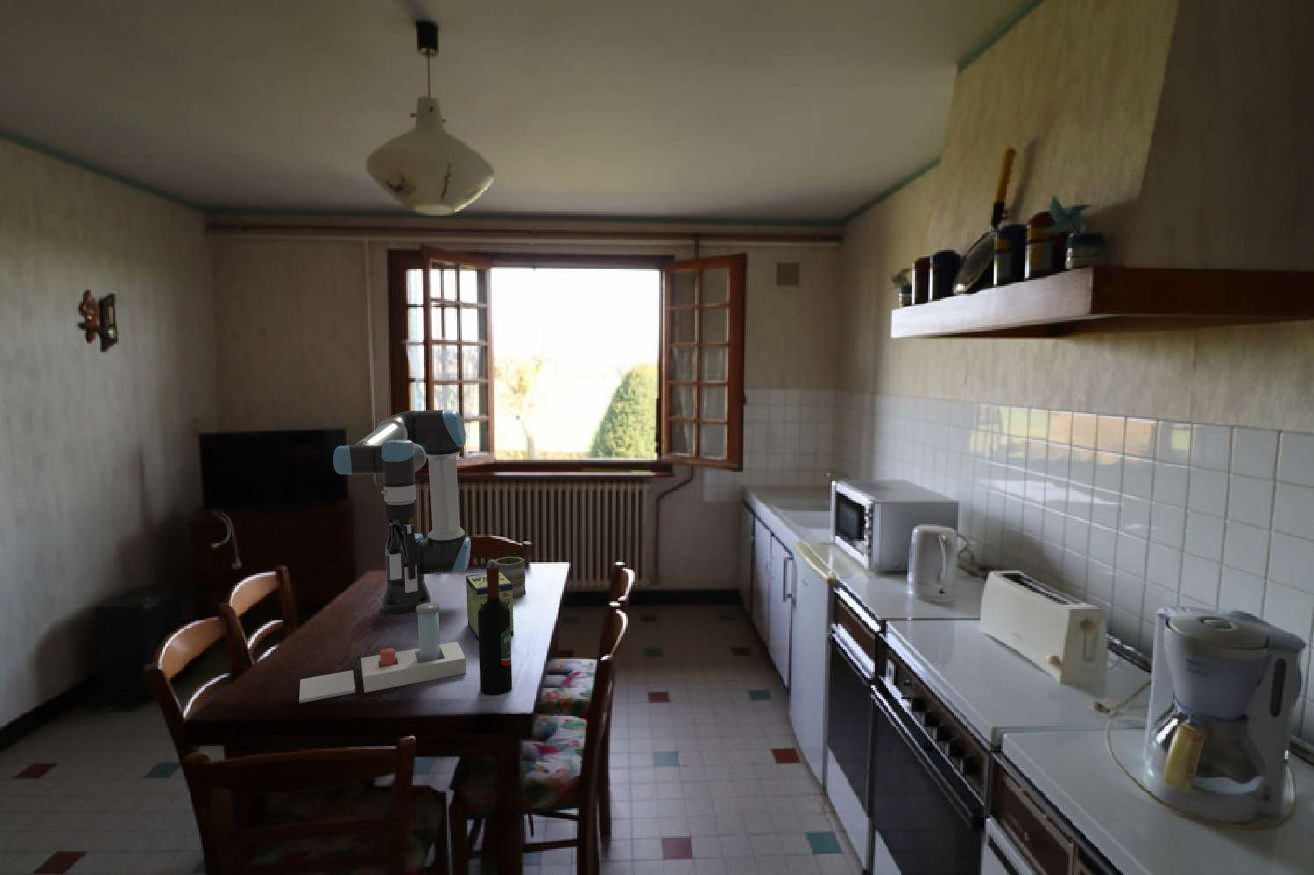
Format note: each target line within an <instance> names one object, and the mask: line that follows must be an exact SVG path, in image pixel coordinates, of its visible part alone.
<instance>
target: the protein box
mask: <svg viewBox="0 0 1314 875" xmlns="http://www.w3.org/2000/svg"><path fill="white" fill-rule="evenodd" d="M465 584H466V585H465V586H466V588H465V589H466V612H467V613H466V614H467V615H466V616H467V618H466V619H467V626H468V627H469V629H470V631H471V632H472V634H473V635H474V637H475V638H476V640H477V641H478V642H479V632H478V611H479V609H480V607H481V606H482V605H483V604H484V603H486V602H487V598H488V591H487V572H486V573H485V572H483V573H478V574H469V575H468V574H467V575H465ZM499 597H500V600H501V601H502V602H504V603H505V604H506V605H507V606H508V607H509V610H510V632H511V637H513V636H514V633H515V632H514V630H515V629H514V626H515V625H514V599H513V591H512V583H511V582H510V581H509V580H508V579H507V578H506V577H505V576H504V575H503V574H502V573H501V572H499Z"/></svg>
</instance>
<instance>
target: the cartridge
mask: <svg viewBox="0 0 1314 875" xmlns="http://www.w3.org/2000/svg"><path fill="white" fill-rule="evenodd" d="M439 610H440V604H439V603H437V602H431V603H424V604H420V605H418V606H417V607H416V611H415V612H416V613H417V630H418V632H417V633H418V648H419V658H420V663H423V662H429V661H434V660H440V646H439V645H440V627H439V626H440V625H439Z"/></svg>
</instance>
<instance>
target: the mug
mask: <svg viewBox="0 0 1314 875" xmlns="http://www.w3.org/2000/svg"><path fill="white" fill-rule="evenodd" d="M486 564H487V565H486V568H487V567H491V566H497V567H498V569H499V572H501V573H502V574H503V575H504V576H505V577H506V578H507V579H508V580H509V581H510V582H511V583H512V591H513V600H515V599H520V598H523V597H524V596H525V595H527V591H526V572H525V568H526V567H525V564H526V559H525V558H523V557H521V556H505V557H499V558H496V559H490V560H488V561H487V563H486Z"/></svg>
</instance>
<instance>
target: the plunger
mask: <svg viewBox="0 0 1314 875" xmlns="http://www.w3.org/2000/svg"><path fill="white" fill-rule="evenodd" d="M395 652H396V648H394V647H387V648H384V649H381V650H380V651H379V655H380V662H381V667H386V666H391V665H396V653H395Z"/></svg>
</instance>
